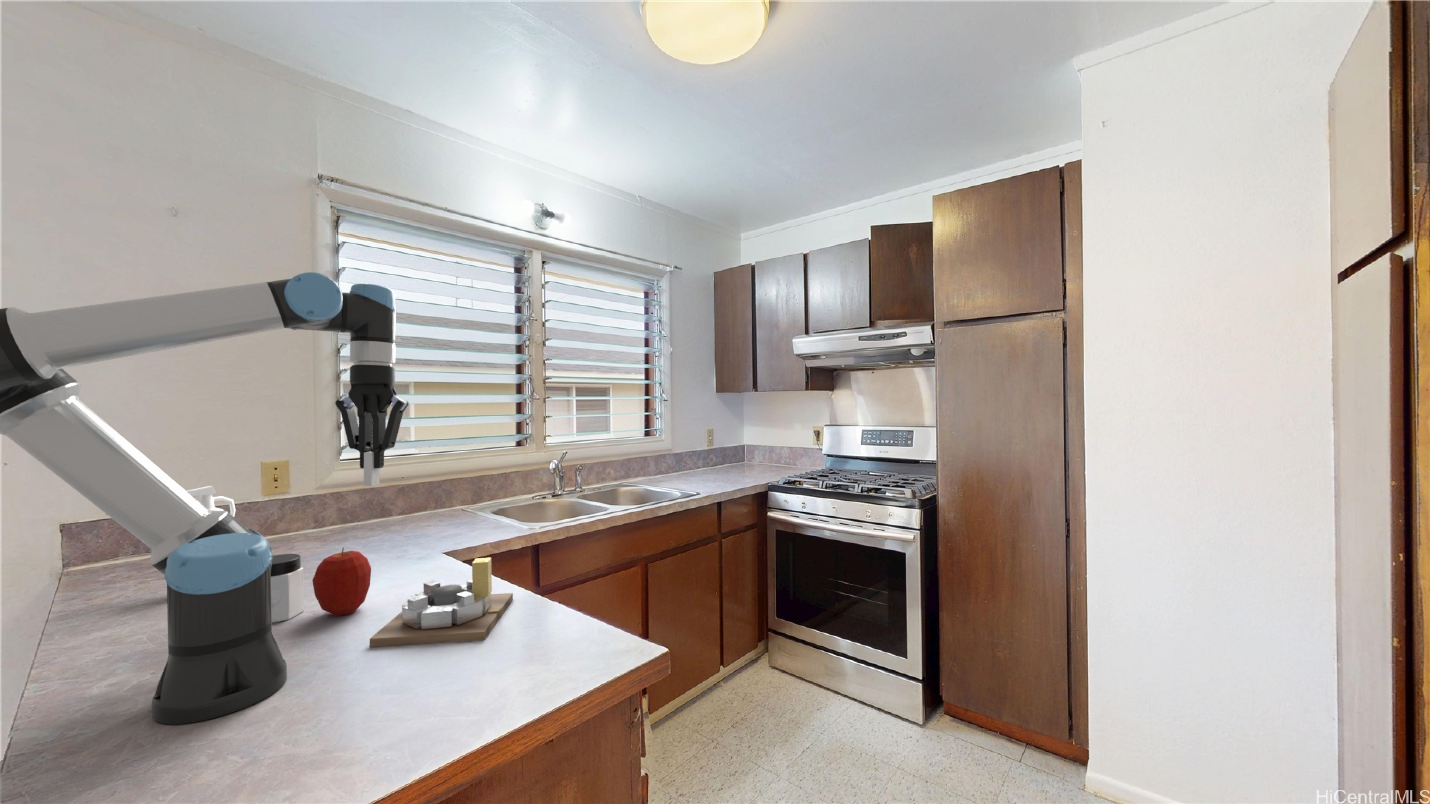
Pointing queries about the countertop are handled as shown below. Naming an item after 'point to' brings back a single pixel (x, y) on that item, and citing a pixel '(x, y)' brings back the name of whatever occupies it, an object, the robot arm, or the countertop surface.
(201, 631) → the robot arm
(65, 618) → the countertop surface
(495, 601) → the board
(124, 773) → the countertop surface
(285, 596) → the jar
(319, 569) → the apple
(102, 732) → the countertop surface
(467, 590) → the white blocky ring
